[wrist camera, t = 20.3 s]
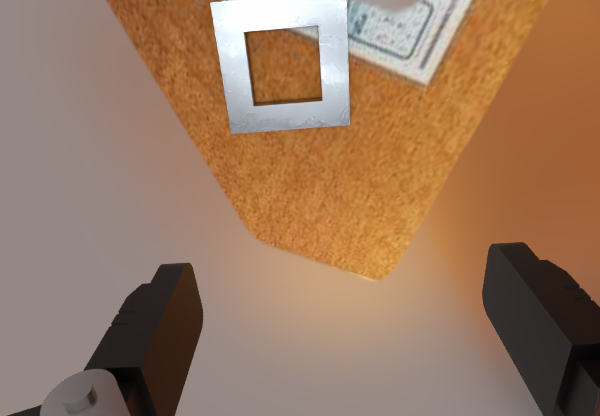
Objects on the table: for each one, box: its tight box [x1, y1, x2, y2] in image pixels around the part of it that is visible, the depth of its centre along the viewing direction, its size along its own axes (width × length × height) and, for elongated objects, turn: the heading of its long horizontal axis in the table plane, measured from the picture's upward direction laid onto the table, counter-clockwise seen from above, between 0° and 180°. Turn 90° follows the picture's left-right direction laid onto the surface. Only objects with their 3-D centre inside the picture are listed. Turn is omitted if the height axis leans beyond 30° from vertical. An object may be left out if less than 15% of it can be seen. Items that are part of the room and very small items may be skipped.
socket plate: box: [210, 0, 350, 134], centre depth 40 cm, size 12×12×2 cm
